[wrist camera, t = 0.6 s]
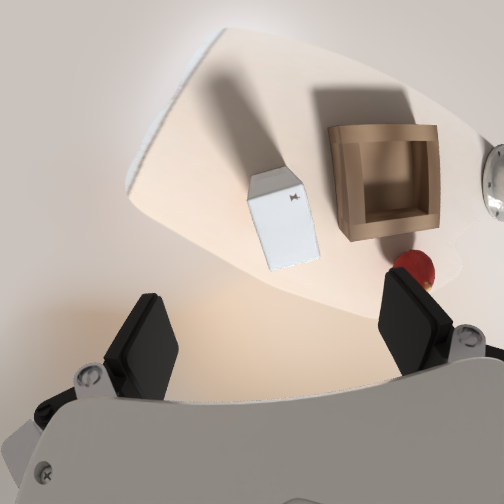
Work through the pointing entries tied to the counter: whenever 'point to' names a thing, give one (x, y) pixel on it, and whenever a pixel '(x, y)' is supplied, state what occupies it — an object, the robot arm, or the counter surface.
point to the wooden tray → (386, 178)
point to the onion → (418, 267)
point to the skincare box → (282, 218)
